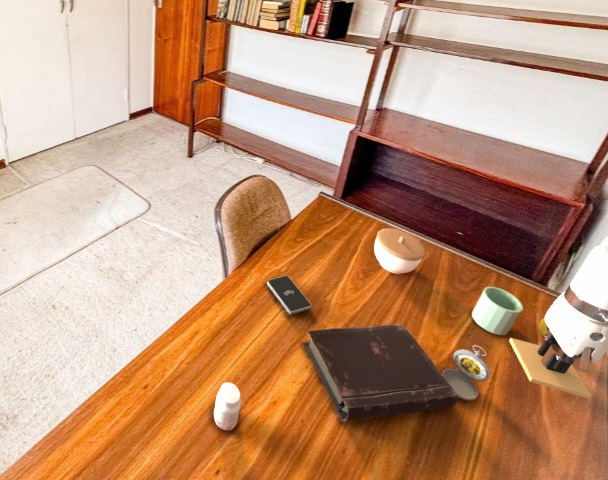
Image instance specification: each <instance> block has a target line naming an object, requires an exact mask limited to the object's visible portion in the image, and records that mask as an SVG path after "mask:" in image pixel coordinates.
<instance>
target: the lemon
mask: <svg viewBox="0 0 608 480" xmlns="http://www.w3.org/2000/svg"><path fill="white" fill-rule="evenodd" d="M538 330H539V333H540V334H541V335H542V337H544V336H545V334H546V333H547V324H546V322H545V316H544V317H543V318H542V319H540V321H539V323H538Z"/></svg>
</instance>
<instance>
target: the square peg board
mask: <svg viewBox="0 0 608 480" xmlns="http://www.w3.org/2000/svg"><path fill="white" fill-rule="evenodd" d="M509 343H510V345H511V347H512V350H513V351H514V353H515V355H516V357H517V359H518V361H519V363H520V365H521V367H522V369H523V370H524V373H525V375H526V376H527V379H528V380H529V382H530V383H534V384H537V385H540V386H544V387H547V388H551V389H554V390H557V391H560V392H561V391H562V392H564V393H568V394H571V395H575V396H578V397H582V398H585V399H589V400H591V398H592V396H593V395H592V393H591V392H590V390H589V389H588V387H587V386H586V384H585V382H584V380H583V379H582V378H581V376H580V374H579V373H578V372H577V370H576V367H574V366H573V365H571V366H570V367H569V369H568V370H567V371H566V373H565V374H562V373H558V372H555V371H551V370H548V369H546V367H545V365H546V364H547V362H548V361H549V359H550V358H551V356H552V355H556V354H557V353H558V351H559V349H560V348H561V346H558V345H556V344H552V345H551V346H550V348H549V349H548V351H547V352H546V354H545V355H544V356H540V355H539V354H538V353H537V351H538V350H539V348H540V347H541V345H539V344H535V343H533V342H532V343H531V342H528V341H524V340H521V339H516V338H513V337H510V339H509ZM566 356H568V355H567V354H566Z"/></svg>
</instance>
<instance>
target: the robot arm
mask: <svg viewBox="0 0 608 480" xmlns="http://www.w3.org/2000/svg"><path fill="white" fill-rule="evenodd" d="M544 317H545V322H546V324H547V333H546V334H545V336H543V337H544V341H543V342H542V343H541V345H540V346H541V347H540V348H539V350H538V351H537V353H538V354H539V355H540V356H544V355H545V354H546V352H547V351H548V349H549V348H550V346H551V345H552V344H556V345H558V346H561V348H560V349H559V351H558V353H557V354H556V355H552V356H551V358H550V359H549V361H548V362H547V364H546V365H545V367H546V369H548V370H551V371H555V372H558V373H562V374H565V373H566V371H567V370H568V369H569V367H570V366H571V365H573V367H574V368H575V369H577V370H579V371H583V372H589V371H588V370H589V365H590V363H591V364H594V365H597V364H598V363H599V362H600V361H601V360H602V358H603V357H604V355H605V354H606V352H607V350H608V236H606V237H605V238H604V239H603V240H602V242H601V243H600V245H597V246H595V247H594V248H592V250H591V251H590V252H589V254H588V255H587V257H586V259H585V260H584V262H583V263H582V265H581V266H580V267H579V269H578V270H577V272H576V274H575V276H574V277H573V279H572V280H571V282H570V283H569V285H568V287H567V288H566V289H565V291H563V292H562V293H561V294H560V295H559V296H558V297H557V298H556V299H555V300H554V302H553V303H552V304H551V305H550V306H549V308H548V309H547V312H546V313H545V315H544ZM566 354H567V356H566Z"/></svg>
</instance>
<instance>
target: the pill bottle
mask: <svg viewBox="0 0 608 480" xmlns="http://www.w3.org/2000/svg"><path fill="white" fill-rule="evenodd" d="M241 403H242V401H241V391H240V390H239V388H238V386H236V385H235V383H232V382H224V383H222V384H221V386H220V388H219V390H218V392H217V395H216V398H215V405H214V410H213V419H214V423H215V424H216V426H218V427H219V428H220V429H221V430H224V431H232V430H233V429H234V428H235V427H236V426H237V423H238V420H239V415H240V410H241V405H242V404H241Z"/></svg>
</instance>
